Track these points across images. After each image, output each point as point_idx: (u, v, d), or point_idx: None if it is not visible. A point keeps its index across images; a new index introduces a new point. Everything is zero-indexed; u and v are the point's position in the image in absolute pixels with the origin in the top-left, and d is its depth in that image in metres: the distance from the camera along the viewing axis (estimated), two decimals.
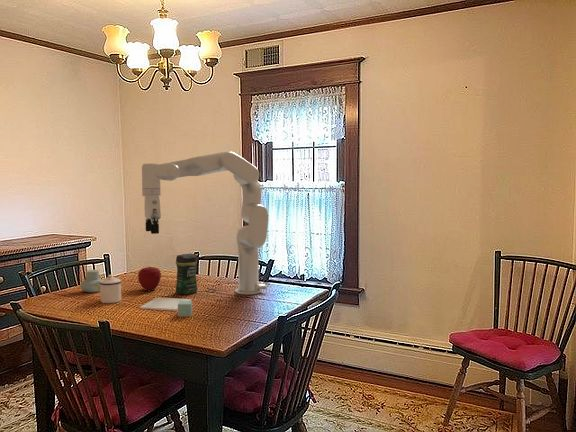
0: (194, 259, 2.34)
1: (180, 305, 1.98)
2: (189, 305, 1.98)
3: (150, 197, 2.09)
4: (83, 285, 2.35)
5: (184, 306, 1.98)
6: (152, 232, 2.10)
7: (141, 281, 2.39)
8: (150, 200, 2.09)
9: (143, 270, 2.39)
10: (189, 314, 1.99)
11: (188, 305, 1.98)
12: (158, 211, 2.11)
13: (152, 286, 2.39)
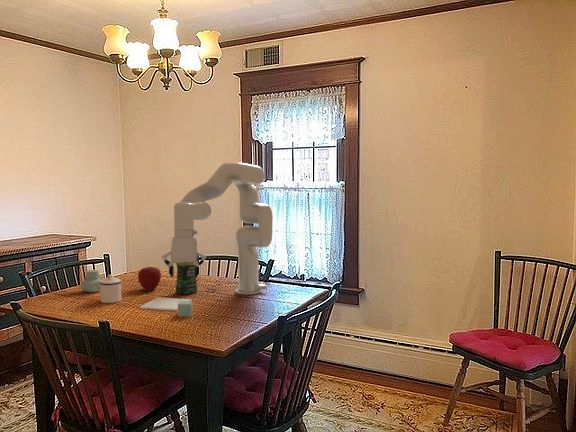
0: None
1: (180, 305, 1.98)
2: (189, 305, 1.98)
3: (194, 238, 1.97)
4: (83, 285, 2.35)
5: (184, 306, 1.98)
6: (197, 275, 1.99)
7: (141, 281, 2.39)
8: (194, 242, 1.97)
9: (143, 270, 2.39)
10: (189, 314, 1.99)
11: (188, 305, 1.98)
12: None
13: (152, 286, 2.39)
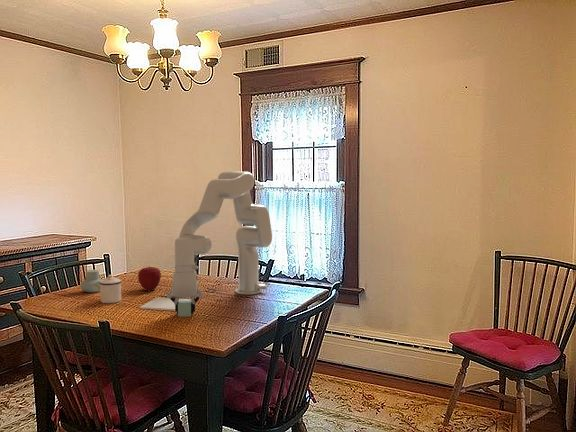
0: (194, 259, 2.34)
1: (180, 305, 1.98)
2: (189, 305, 1.98)
3: (194, 273, 1.98)
4: (83, 285, 2.35)
5: (184, 306, 1.98)
6: (192, 312, 2.00)
7: (141, 281, 2.39)
8: (195, 277, 1.98)
9: (143, 270, 2.39)
10: (189, 314, 1.99)
11: (188, 305, 1.98)
12: None
13: (152, 286, 2.39)
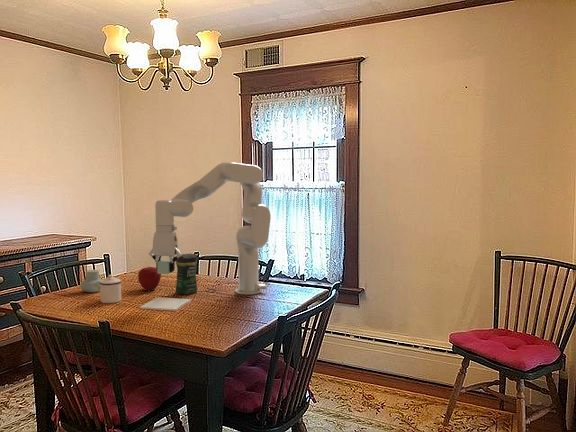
0: (194, 259, 2.34)
1: (159, 263, 2.12)
2: (167, 263, 2.11)
3: (172, 234, 2.11)
4: (83, 285, 2.35)
5: (162, 264, 2.11)
6: (171, 270, 2.12)
7: (141, 281, 2.39)
8: (173, 237, 2.11)
9: (143, 270, 2.39)
10: (167, 272, 2.11)
11: (166, 263, 2.11)
12: (177, 247, 2.14)
13: (152, 286, 2.39)
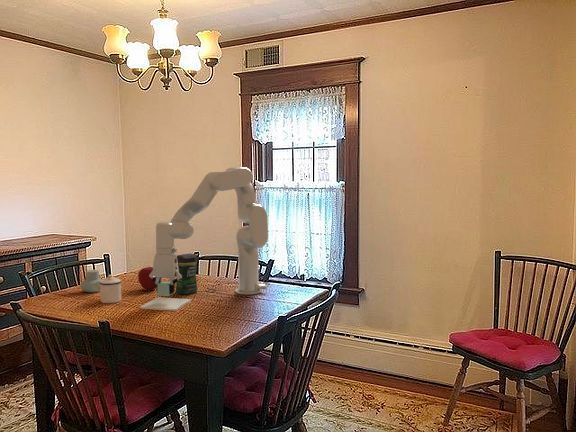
0: (194, 259, 2.34)
1: (159, 285, 2.12)
2: (167, 285, 2.12)
3: (172, 256, 2.11)
4: (83, 285, 2.35)
5: (163, 286, 2.12)
6: (171, 292, 2.13)
7: (141, 281, 2.39)
8: (173, 259, 2.11)
9: (143, 270, 2.39)
10: (167, 294, 2.12)
11: (166, 285, 2.12)
12: (177, 269, 2.15)
13: (152, 286, 2.39)
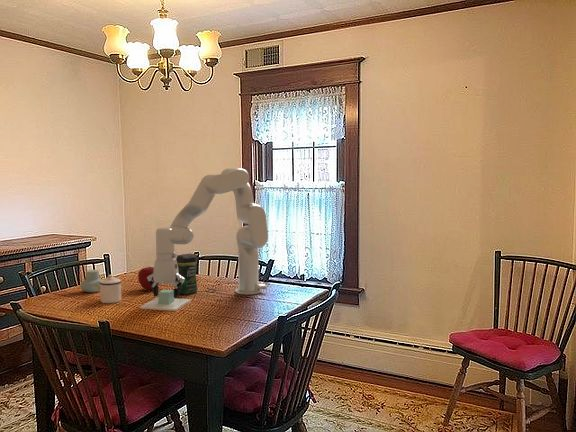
0: (194, 259, 2.34)
1: (160, 293, 2.13)
2: (168, 294, 2.12)
3: (173, 262, 2.12)
4: (83, 285, 2.35)
5: (163, 294, 2.13)
6: (175, 296, 2.13)
7: (141, 281, 2.39)
8: (173, 265, 2.12)
9: (143, 270, 2.39)
10: (168, 302, 2.13)
11: (167, 294, 2.12)
12: None
13: None
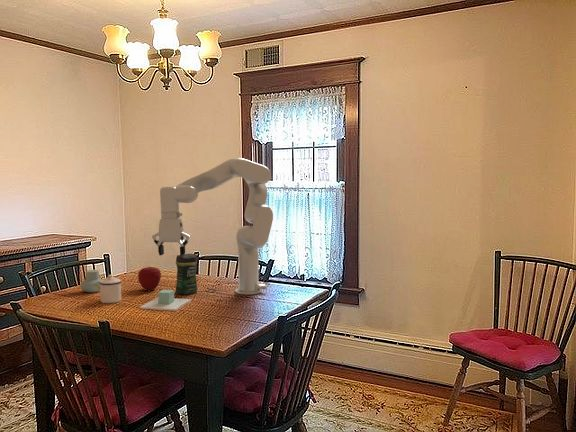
0: (194, 259, 2.34)
1: (160, 293, 2.13)
2: (168, 294, 2.12)
3: (178, 220, 2.12)
4: (83, 285, 2.35)
5: (163, 294, 2.13)
6: (182, 254, 2.13)
7: (141, 281, 2.39)
8: (178, 223, 2.12)
9: (143, 270, 2.39)
10: (168, 302, 2.13)
11: (167, 294, 2.12)
12: (183, 233, 2.15)
13: (152, 286, 2.39)
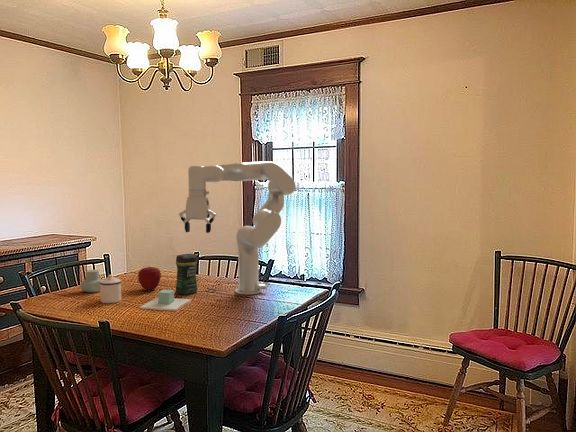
0: (194, 259, 2.34)
1: (160, 293, 2.13)
2: (168, 294, 2.12)
3: (205, 198, 2.19)
4: (83, 285, 2.35)
5: (163, 294, 2.13)
6: (207, 231, 2.20)
7: (141, 281, 2.39)
8: (205, 201, 2.19)
9: (143, 270, 2.39)
10: (168, 302, 2.13)
11: (167, 294, 2.12)
12: None
13: (152, 286, 2.39)
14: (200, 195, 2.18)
